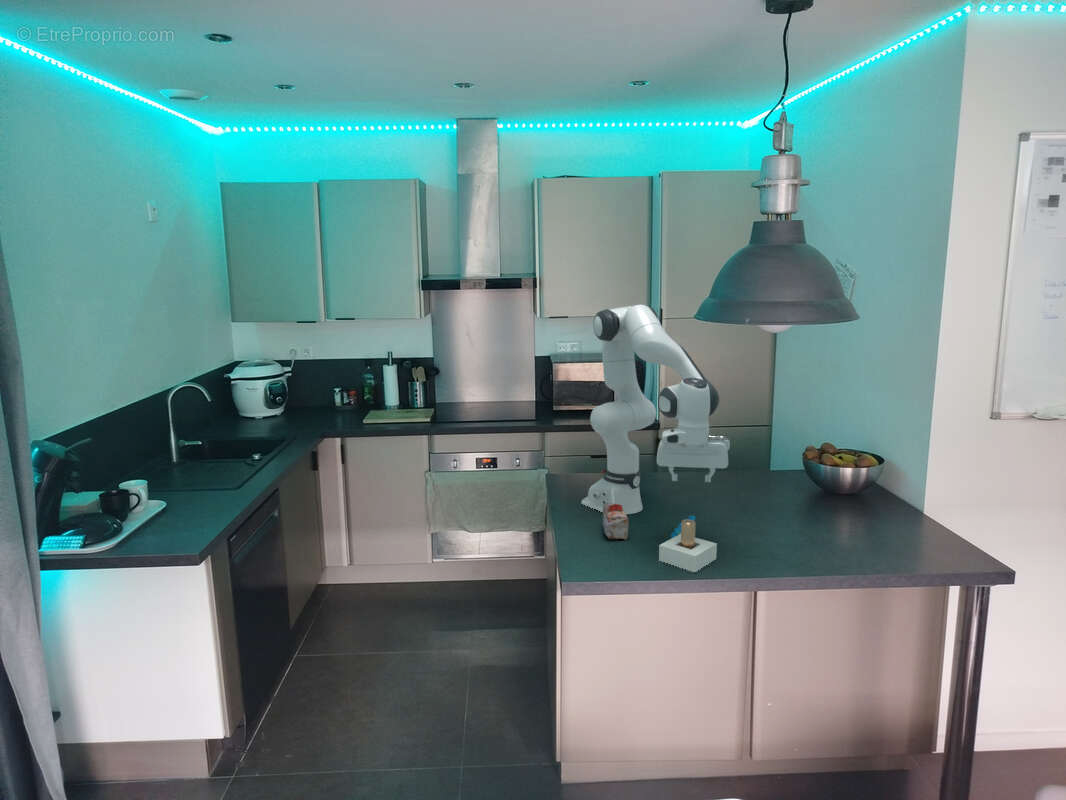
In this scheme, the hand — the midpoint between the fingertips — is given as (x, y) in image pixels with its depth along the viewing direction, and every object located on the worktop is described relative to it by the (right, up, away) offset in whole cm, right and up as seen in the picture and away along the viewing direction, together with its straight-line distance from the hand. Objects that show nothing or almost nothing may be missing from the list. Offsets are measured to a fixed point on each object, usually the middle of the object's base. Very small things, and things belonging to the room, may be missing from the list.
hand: (691, 481), depth 208 cm
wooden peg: (-1, -24, +2) cm, 24 cm away
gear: (+1, -21, +18) cm, 28 cm away
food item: (-20, -20, +24) cm, 37 cm away
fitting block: (-1, -24, +2) cm, 24 cm away
